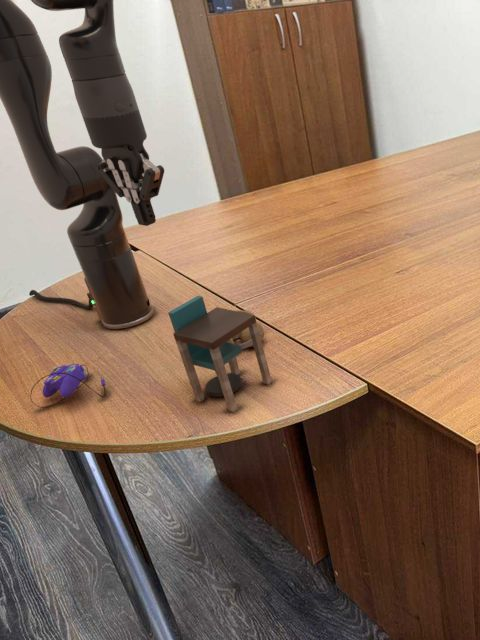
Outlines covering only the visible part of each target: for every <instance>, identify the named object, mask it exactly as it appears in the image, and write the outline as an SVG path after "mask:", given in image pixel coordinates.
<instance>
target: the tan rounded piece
mask: <svg viewBox="0 0 480 640" xmlns="http://www.w3.org/2000/svg"><path fill="white" fill-rule="evenodd" d="M236 311H237V312H242V313H246V314H251V315H255V313H254V312H252V311H250V310H242V309H240V310H239V309H238V310H236ZM255 319H256V322H257V317H256V316H255ZM257 326H258V330H259V334H260V338H261V341H263V340H264V335H265V332H264V328H263V326H262V324H260V322H257ZM231 343H233V344H237V345H241V348H242V350H245V349H247V348H251V347H253V348H254V346H253V342H252V339H251V335H250V331H249V328H246V329H245V330H243V331H242V332H240V333H239V334H237V335H236V336H234V337H233V338H231Z"/></svg>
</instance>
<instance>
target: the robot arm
mask: <svg viewBox="0 0 480 640" xmlns="http://www.w3.org/2000/svg"><path fill="white" fill-rule="evenodd" d="M30 2H32V3H33V4H34V5H35V6H37V7H39V8H41V9H43V10H46V11H49V12H50V11H51V12H64V11H73V10H83V9H84V17H83V22H82V24H81V25H79V26H78V27H75V28H73V29H70V30H67V31H65V32H63V33H61V34H60V36H59V38H58V44H59V49H60V51H61V54H62V57H63V60H64V62H65V66H66V68H67V71H68V74H69V76H70V79H71V83H72V87H73V92H74V96H75V100H76V102H77V105H78V108H79V111H80V114H81V117H82V119H83V123H84V125H85V128H86V131H87V133H88V136H89V140H90V143H91V145H92V146H93V147H94V148H97V149H100V150H101V151H100V152H101V155H100V154H99V153H98V152H97V151H96V150H95V149H94V148H92V147H90V146H83V145H82V146H76V147H72V148H69V149H65V150H61V151H58V152H57V151H56V149H55V146H54V143H53V140H52V138H51V134H50V130H49V125H48V124H49V123H48V109H49V102H50V95H51V89H52V80H53V79H52V78H53V70H52V64H51V61H50V58H49V56H48V53H47V51H46V49H45V47H44V44H43V42H42V39H41V37H40V34H39V33H38V30H37V28H36V26H35V24H34V22H33V21H32V19H30V17H29V16H28V15H27V14H26V12H24V11H23V10H22V8H21V7H19V6H18V5H17V4H15V2H14V1H12V0H0V101H1V103H2V105H3V107H4V110H5V112H6V115H7V116H8V119H9V121H10V123H11V125H12V128H13V130H14V134H15V135H16V139H17V141H18V144H19V146H20V147H19V148H20V149H21V153H22V155H23V158H24V160H25V163H26V165H27V168H28V171H29V172H30V176H31V178H32V180H33V183H34V185H35V187H36V189H37V190H38V192H39V194H40V195H41V198H43V200H44V201H45V202H46V203H47V204H48V205H49V206H50V207H52V208H53V209H55V210H58V211H65V210H70V209H73V208H76V207H79V206H81V205H83V206H82V208H81V211H80V213H79V214H78V215H77V217H76V218H75V219H74V220H73V221H72V222H71V223H70V224H69V225H68V227H67V229H66V234H67V237H68V239H69V242H70V244H71V246H72V249H73V251H74V254H75V256H76V259H77V261H78V263H79V266H80V269H81V271H82V273H83V277H84V278H83V280H84V283H85V285H86V288H87V290H88V292H87V293H86V296H87V298H88V304H84V303H82V302H80V301H78V300H75V299H72V298H68V297H67V298H66V297H51V296H45V295H43V294H40V293H39V292H38V291H37V290H35V289H31V290H29V294H28V295H29V297H32V296H35V297H36V298H37V299H39V300H41V301H45V302H54V303H55V302H56V303H57V302H58V303H67V304H72V305H75V306H76V307H79V308H81V309H84V310H91V309H93V308H95V310H96V312H97V315H98V317H99V320H100V321H101V323H102V325H103V327H105V328H106V329H109V330H110V329H111V330H122V329H128V328H132V327H135V326H138V325H141V324H142V323H144V322H147V321H148V320H149V319H151V318H152V317H153V315H154V313H155V312H154V311H155V310H154V308H153V306H152V302H151V298H150V297H149V295H148V293H147V290H146V287H145V284H144V281H143V279H142V276H141V273H140V271H139V268H138V265H137V262H136V260H135V256H134V254H133V251H132V247H131V245H130V242H129V239H128V237H127V233H126V231H125V227H124V225H123V218H124V217H123V212H122V208H121V207H120V206H121V205H120V203H119V199H118V197H119V198H125V200H126V202H128V203H130V204H131V208H132V212H133V214H134V216H135V219H136V221H137V223H138V225H140V226H145V227H148V226H151V225H153V224H155V223H156V221H157V220H156V213H155V211H154V208H153V205H152V201H151V200H152V199H153V198H155V197H157V196H159V194H160V191H161V186H162V182H163V178H164V174H165V169H164V166H163V165H161V164H158V165H157V166H156V165H155V164H154V163H153V162H152V161H150V155H149V153H148V152H147V150H146V148H145V146H144V142H145V141H146V140H147V137H148V135H147V131H146V128H145V125H144V122H143V119H142V115H141V112H140V109H139V106H138V102H137V98H136V96H135V93H134V90H133V87H132V85H131V83H130V81H129V78H128V76H127V73H126V70H125V67H124V66H125V65H124V64H123V60H122V57H121V53H120V51H119V48H118V45H117V44H118V43H117V38H116V37H117V36H116V27H115V26H116V25H115V13H114V12H115V11H114V0H30Z"/></svg>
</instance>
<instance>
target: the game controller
mask: <svg viewBox="0 0 480 640" xmlns="http://www.w3.org/2000/svg"><path fill="white" fill-rule="evenodd" d="M84 367H85V368H84ZM50 370H51V373H50V374H48V375H45V376H43V377H42V378H40V379H39V380H37V381H36V383H35V384H34V385H33V386H32V388H31V390H30V400H31V403H32V404H33V405H35V406H36V407H38V408H43V409H45V408H50V407H52V406H55V405H57V404H59V403H60V402H62V401H64V400H65V399H66V398H69V397H71V396H72V395H73V394H74V393H75V392H76V391H77V390H78V389H79V388H81V387H82V386H83V385H85V386H86V387H88V388H89V389H90V390H92V392H94V393H95V394H96V395H97V396H99V397H101V398H105V396H106V394H104V395H100V394H99V393H98V392H97V391H95V390H94V389H93V388H92V387H90V385H88V384H87V383H86V382H87V381H88V379H89V369H88V367H87V366H86V365H85V364H80V365H79V363H72V364H68V365H66V364H64V365H60V366H59V367H58V365H54V366H52V367H51V369H50ZM46 377H47V378H46ZM45 378H46V379H45ZM43 379H45V380H44V381H43V384H44V385H43V387H42V396H43V397H44V398H51V397H52V396H55V394H56V393H57V392H58V391H59V395H60V397H61V398H62V399H61V400H59V401H57V402H55V403H53V404H51V405H48V406H40V405H37V404H35V402H34V401H33V399H32V394H33V393H32V392H33V390H34V388H35V387H36V385H37V384H38V383H39V382H40V381H42V380H43ZM100 383H101V386H102V387H103V391H104V393H106V387H105V386H106V382H105V378H104V377H103V376H101V377H100Z"/></svg>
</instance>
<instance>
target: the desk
mask: <svg viewBox="0 0 480 640" xmlns="http://www.w3.org/2000/svg"><path fill="white" fill-rule="evenodd" d="M237 311H238V310H232V309H228V308H227V309H226V308H222V307H219V306H216V307H215V308H213V309H212V310H210V311H207V313H206V314H205V315H203V316H201V317H200V318H198V319H196V320H195V321H193V322H191V323H190V324H188V325H186V326H185V327H183V328H181V329H180V330H178V331H176V332H175V331H174V332H173V333H172V335H173V338H174V340H175V343H176V347H177V350H178V352H179V355H180V358H181V362H182V363H183V366H184V369H185V373H186V375H187V379H188V381H189V384H190V387H191V389H192V393H193V395H194V398H195V401H196V402H198V403H202V402H203V401H204V400H205V394H204V392H203V389H202V385H201V384H200V379H199V377H198V374H197V372H196V368H195V365H193V362H192V359H191V356H190V353H189V350H188V347H187V344H186V343H189V344H193V345H196V346H200V347H204V348H208V349H209V350H210V353H211V356H212V360H213V363H214V366H215V369H216V372H217V375H218V379H219V382H220V385H221V388H222V391H223V394H224V396H223V397H224V400H225V404H226V407H227V410H228V411H229V412H232V413H234V412H235V411H237V410H238V405H237V401H236V399H235V395H234V393H233V392H232V389H231V385H230V382H229V379H228V376H227V374H228V373H227V370H226V366H225V364H224V363H223V359H222V356H221V353H220V349H219V346H221V345H222V344H224V343H225V342H229V343H231V338H233V337H234V336H236V335H237V334H239V333H240V332H242V331H243V330H245V329H246V328H249V331H250V335H251V339H252V342H253V349H254V353H255V356H256V357H255V358H256V360H257V365H258V368H259V371H260V375H261V378H262V382H263V384H264V385H268V386H269V385H270V384H271V383H273V379H272V376H271V372H270V368H269V365H268V361H267V357H266V353H265V349H264V346H263V342H262V341H263V340H262V341H261V338H260V334H259V330H258V326H257V322H256V321H257V318H256V319H255V317H256V315H255V314H254V315H251V314H246V313H242V312H237ZM227 363H228V366H229V369H230V374H236V375H238V376H240V374H241V371H240V366H239V363H238V360H237V356H235V357H234V358H233V359H231V360H230V361H228V362H227ZM216 372H215V373H216ZM217 375H216V376H217Z"/></svg>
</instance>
